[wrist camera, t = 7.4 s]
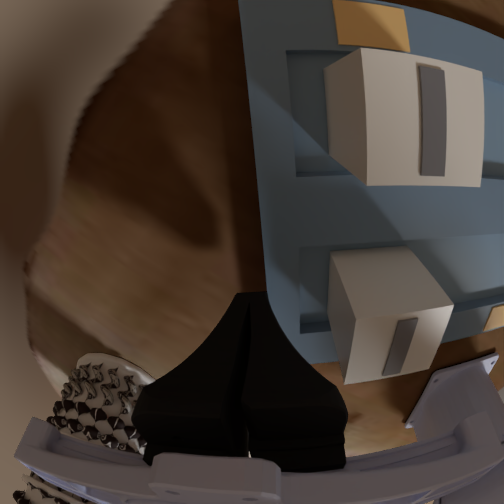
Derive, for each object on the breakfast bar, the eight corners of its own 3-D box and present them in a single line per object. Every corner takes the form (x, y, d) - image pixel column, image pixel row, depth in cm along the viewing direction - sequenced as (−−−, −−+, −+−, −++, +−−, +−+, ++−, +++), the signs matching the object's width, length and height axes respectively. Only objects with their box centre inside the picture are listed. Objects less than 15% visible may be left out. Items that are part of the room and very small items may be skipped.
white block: (396, 304, 15) (429, 370, 10) (326, 312, 15) (344, 386, 11) (407, 245, 13) (455, 306, 9) (329, 251, 13) (356, 321, 9)
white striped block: (414, 155, 11) (481, 188, 7) (328, 155, 11) (368, 187, 7) (412, 76, 9) (484, 71, 5) (323, 69, 10) (361, 47, 5)
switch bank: (526, 300, 16) (539, 315, 14) (272, 342, 18) (273, 368, 16) (560, 82, 8) (580, 85, 6) (241, 12, 10) (237, -4, 8)
